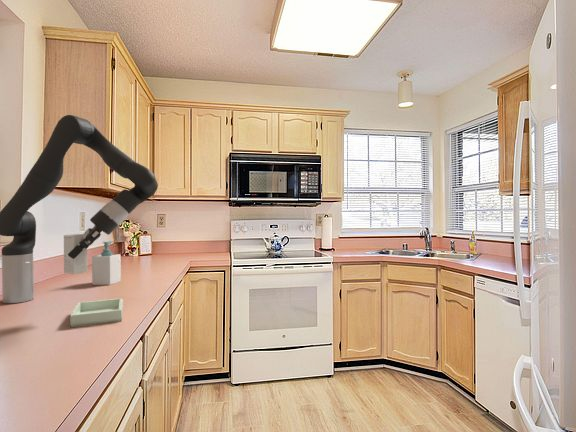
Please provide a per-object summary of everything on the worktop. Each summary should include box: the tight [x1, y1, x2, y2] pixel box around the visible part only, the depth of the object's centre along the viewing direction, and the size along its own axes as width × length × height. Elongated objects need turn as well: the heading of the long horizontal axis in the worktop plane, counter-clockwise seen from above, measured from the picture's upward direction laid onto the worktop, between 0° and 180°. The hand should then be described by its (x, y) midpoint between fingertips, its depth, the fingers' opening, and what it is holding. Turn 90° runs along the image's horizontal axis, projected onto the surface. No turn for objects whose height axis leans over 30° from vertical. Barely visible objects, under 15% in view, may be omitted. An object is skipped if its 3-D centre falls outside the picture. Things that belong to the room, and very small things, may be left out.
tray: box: [69, 297, 124, 328], centre depth 109 cm, size 16×13×3 cm
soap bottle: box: [91, 240, 122, 286], centre depth 161 cm, size 9×9×19 cm
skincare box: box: [63, 233, 88, 275], centre depth 110 cm, size 6×4×12 cm
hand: (69, 255), depth 109 cm, fingers closed on skincare box, 7 cm apart
